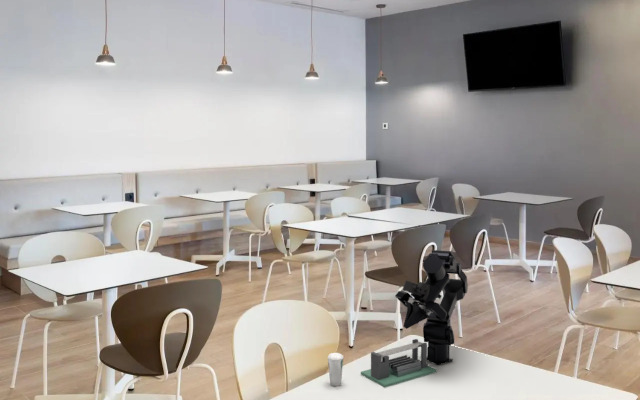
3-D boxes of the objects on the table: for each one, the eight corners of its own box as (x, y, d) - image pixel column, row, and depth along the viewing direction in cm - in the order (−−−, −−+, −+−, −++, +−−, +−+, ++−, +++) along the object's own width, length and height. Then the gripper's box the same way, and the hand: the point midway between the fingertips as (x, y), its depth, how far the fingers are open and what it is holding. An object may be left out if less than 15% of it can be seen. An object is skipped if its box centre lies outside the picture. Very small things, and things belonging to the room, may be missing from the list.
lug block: (381, 373, 183) (381, 349, 183) (388, 377, 180) (389, 353, 180) (370, 375, 181) (370, 352, 180) (378, 380, 178) (378, 356, 177)
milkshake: (344, 388, 175) (344, 354, 174) (326, 386, 176) (326, 353, 175) (347, 381, 179) (347, 348, 178) (329, 380, 180) (329, 347, 179)
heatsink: (405, 363, 191) (405, 354, 190) (421, 370, 185) (421, 361, 185) (382, 369, 186) (382, 360, 186) (397, 377, 180) (398, 368, 180)
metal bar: (418, 347, 190) (418, 340, 190) (423, 350, 188) (423, 343, 188) (375, 359, 181) (375, 352, 181) (381, 362, 179) (381, 354, 179)
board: (411, 360, 195) (411, 357, 195) (436, 372, 186) (436, 369, 186) (360, 374, 185) (360, 371, 184) (384, 387, 175) (384, 384, 175)
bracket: (416, 361, 192) (416, 338, 191) (428, 367, 188) (428, 343, 187) (410, 363, 191) (410, 340, 190) (422, 368, 186) (422, 344, 186)
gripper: (399, 265, 194) (371, 305, 190) (438, 276, 178) (408, 320, 174) (419, 286, 199) (392, 325, 195) (459, 299, 183) (430, 342, 179)
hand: (404, 327), depth 185 cm, fingers closed
